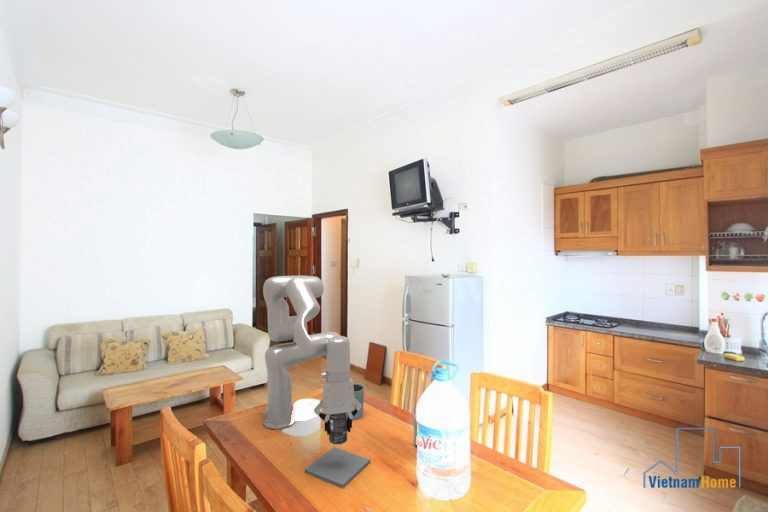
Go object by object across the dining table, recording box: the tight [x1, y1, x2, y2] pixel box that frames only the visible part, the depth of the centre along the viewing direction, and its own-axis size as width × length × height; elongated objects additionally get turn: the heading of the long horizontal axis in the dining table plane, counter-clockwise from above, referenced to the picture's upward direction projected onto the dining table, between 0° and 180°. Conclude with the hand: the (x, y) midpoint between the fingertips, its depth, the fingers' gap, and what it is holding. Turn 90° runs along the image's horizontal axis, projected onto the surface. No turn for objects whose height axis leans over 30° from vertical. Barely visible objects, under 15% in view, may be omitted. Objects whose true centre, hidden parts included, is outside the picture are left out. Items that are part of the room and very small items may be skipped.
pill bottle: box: [328, 413, 349, 446], centre depth 115 cm, size 6×6×11 cm
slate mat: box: [304, 446, 371, 489], centre depth 115 cm, size 15×15×1 cm
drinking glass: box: [347, 382, 365, 421], centre depth 152 cm, size 10×10×12 cm
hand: (338, 430), depth 115 cm, fingers closed on pill bottle, 6 cm apart
